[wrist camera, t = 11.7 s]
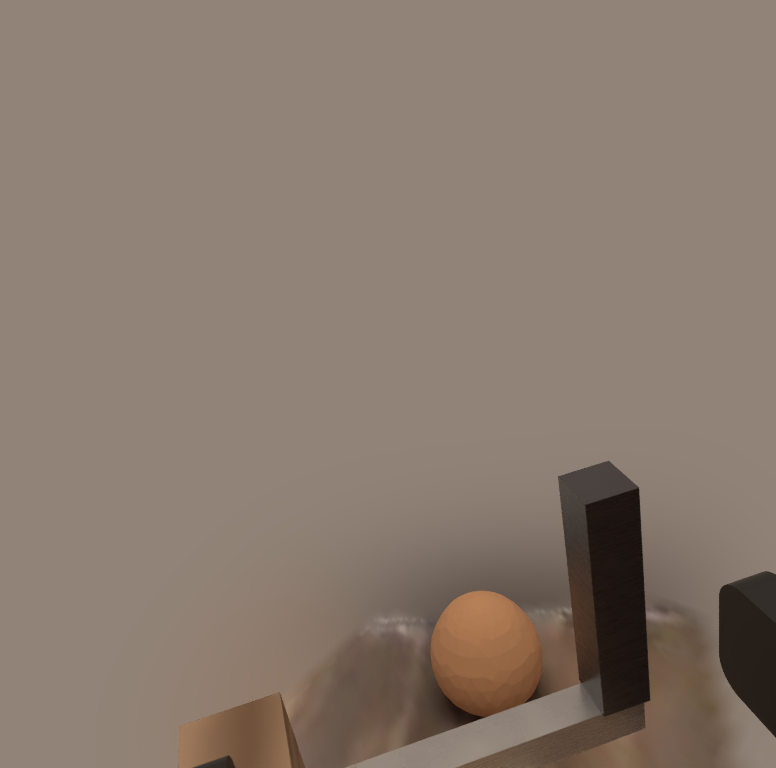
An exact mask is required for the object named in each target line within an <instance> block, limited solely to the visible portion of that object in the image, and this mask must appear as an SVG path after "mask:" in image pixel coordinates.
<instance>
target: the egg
mask: <svg viewBox="0 0 776 768" xmlns="http://www.w3.org/2000/svg"><path fill="white" fill-rule="evenodd" d="M431 661H432V667H433V673H434V675H435V678H436V680H437V682H438V684H439V686H440V688H441V690H442V692H443V693H444V694H445V695H446V696H447V697H448V698H449V699H450V700H451V701H452V702H453V703H454V704H455V705H456V706H457V707H459V708H461V709H463V710H464V711H466V712H468V713H470V714H473V715H477V716H481V717H488V716H491V715H494V714H497V713H499V712H502V711H505V710H508V709H511V708H513V707H516V706H519V705H522V704H524V703H525V702H526V701H527V700H528V699H529V698H530V697H531V696H532V694H533V693H534V691H535V689H536V687H537V685H538V683H539V680H540V676H541V673H542V649H541V645H540V640H539V636H538V634H537V632H536V630H535V627H534V625H533V623H532V622H531V620H530V619H529V618H528V616H527V615H526V614H525V613H524V612H523V611H522V610H521V609H520V608H519V607H518V606H517V605H516V604H515V603H514V602H512V601H510V600H509V599H507V598H506V597H504V596H503V595H501V594H497V593H494V592H489V591H474V592H469V593H467V594H464V595H462V596H460V597H458V598H457V599H455V600H454V601H452V602H451V604H450V605H449V606H448V607H447V608H446V609H445V610H444V612H443V613H442V615H441V617H440V618H439V620H438V622H437V624H436V626H435V629H434V632H433V635H432V640H431Z"/></svg>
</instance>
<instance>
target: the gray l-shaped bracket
mask: <svg viewBox="0 0 776 768" xmlns="http://www.w3.org/2000/svg"><path fill="white" fill-rule="evenodd" d="M558 480H559V490H560V499H561V508H562V518H563V527H564V537H565V547H566V556H567V566H568V575H569V584H570V594H571V604H572V613H573V623H574V632H575V642H576V651H577V661H578V670H579V680H580V682H581V683H580V684H578V685H575V686H572V687H569V688H566V689H564V690H561V691H558V692H555V693H552V694H550V695H547V696H544V697H541V698H539V699H536V700H533V701H530V702H527V703H525V704H522V705H519V706H516V707H513V708H511V709H508V710H505V711H502V712H499V713H497V714H494V715H491V716H488V717H485V718H483V719H480V720H477V721H474V722H471V723H469V724H466V725H463V726H460V727H457V728H455V729H452V730H449V731H446V732H443V733H441V734H438V735H435V736H432V737H429V738H427V739H424V740H421V741H418V742H415V743H413V744H410V745H407V746H404V747H402V748H399V749H396V750H393V751H390V752H388V753H385V754H382V755H379V756H376V757H374V758H371V759H368V760H365V761H362V762H360V763H357V764H354V765H351V766H348V767H346V768H541V767H543V766H546V765H549V764H551V763H554V762H557V761H559V760H562V759H565V758H567V757H570V756H573V755H575V754H578V753H581V752H583V751H586V750H589V749H592V748H594V747H597V746H600V745H602V744H605V743H608V742H610V741H613V740H616V739H618V738H621V737H624V736H626V735H629V734H632V733H634V732H637V731H640V730H642V729H645V728H646V724H645V707H644V702H647V701H650V687H649V668H648V649H647V630H646V611H645V592H644V573H643V554H642V537H641V516H640V499H639V498H640V496H639V487H638V486H637V485H635V484H634V483H633V482H632V481H631V480H630V479H629V478H627V477H626V476H625V475H624V474H623V473H622V472H621V471H620V470H618V469H617V468H616V467H615V466H614V465H613V464H612V463H611V462H609V461H607V462H603V463H600V464H597V465H594V466H590V467H588V468H584V469H581V470H577V471H574V472H571V473H568V474H565V475H562V476H558Z"/></svg>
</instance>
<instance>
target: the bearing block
mask: <svg viewBox="0 0 776 768" xmlns="http://www.w3.org/2000/svg"><path fill="white" fill-rule="evenodd" d="M178 748H179V749H178V768H193V767H196V766H199V765H201V764H204V763H207V762H210V761H213V760H216V759H219V758H222V757H225V756H227V755H229V756H230V757H231V758H232V760H233V763H234V765H235V768H305V766H304V763H303V760H302V757H301V754H300V751H299V748H298V745H297V742H296V739H295V736H294V733H293V730H292V727H291V724H290V721H289V718H288V715H287V712H286V709H285V706H284V703H283V700H282V697H281V694H280V693H276V694H273V695H270V696H267V697H264V698H261V699H259V700H255V701H252V702H250V703H247V704H244V705H241V706H238V707H235V708H232V709H229V710H226V711H223V712H220V713H217V714H214V715H211V716H208V717H205V718H202V719H199V720H196V721H193V722H190V723H187V724H184V725H181V726H179V747H178Z"/></svg>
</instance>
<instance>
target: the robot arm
mask: <svg viewBox="0 0 776 768" xmlns="http://www.w3.org/2000/svg"><path fill="white" fill-rule="evenodd" d="M719 657H720V662H721V666H722V669H723V672H724V674H725V676H726V678H727V680H728V682H729V684H730V685H731V687H732V689H733V690H734V691H735V693H736V694H737V695H738V696H739V698H740V699H741V700H742V701H743V702H744V703H745V704H746V705H747V706H748V707H749V709H750V710H751V711H752V712H753V713H754V714H755V715H756V716H757V717H758V719H759V720H760V721H761V722H762V723H763V724H764V725H765V726H766V727H767V728H768V730H769V731H770V732H771V733H772V734H773V735H774V736H775V737H776V575H775V574H773V573H771V572H766V571H765V572H762V573H759V574H756V575H753V576H750V577H747V578H744V579H741V580H739V581H735V582H733V583H730V584H727V585H724V586H723V587H722V588H721V590H720V593H719ZM193 768H235V765H234V763H233V760H232V758H231V757H230V756H229V755H227V756H225V757H222V758H219V759H216V760H213V761H210V762H207V763H204V764H201V765H199V766H196V767H193Z"/></svg>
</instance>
